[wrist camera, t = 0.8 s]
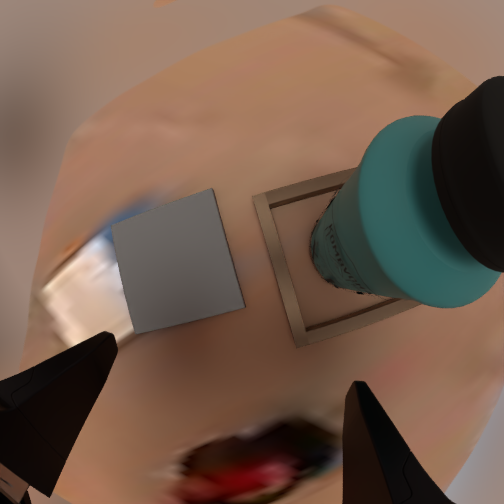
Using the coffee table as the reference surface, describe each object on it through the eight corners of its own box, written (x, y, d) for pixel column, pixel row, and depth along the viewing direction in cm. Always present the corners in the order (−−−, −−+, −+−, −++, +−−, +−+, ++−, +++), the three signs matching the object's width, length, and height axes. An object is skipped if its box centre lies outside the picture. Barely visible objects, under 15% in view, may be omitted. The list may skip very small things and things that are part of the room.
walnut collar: (426, 297, 21) (434, 298, 20) (295, 343, 22) (296, 348, 21) (385, 165, 23) (390, 159, 21) (254, 201, 24) (252, 196, 22)
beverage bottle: (340, 194, 23) (461, -9, 3) (398, 247, 22) (612, 177, 2) (289, 253, 23) (323, 116, 3) (350, 308, 22) (557, 399, 2)
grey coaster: (245, 306, 23) (244, 307, 22) (138, 333, 24) (135, 334, 23) (213, 190, 24) (211, 188, 23) (114, 226, 25) (110, 225, 24)
